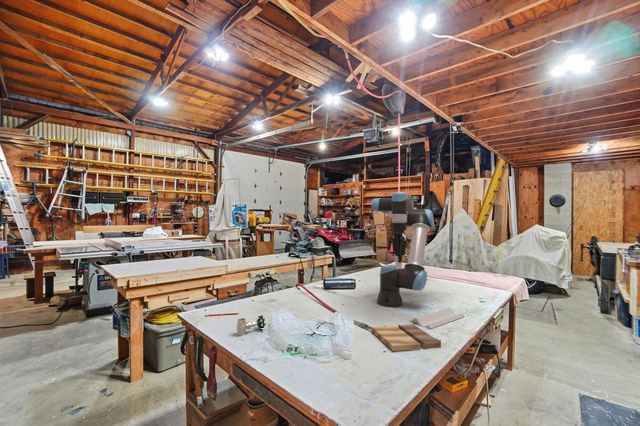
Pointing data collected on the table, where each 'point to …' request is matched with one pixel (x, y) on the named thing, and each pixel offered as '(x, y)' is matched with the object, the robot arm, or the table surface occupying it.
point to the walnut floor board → (420, 336)
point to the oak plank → (395, 338)
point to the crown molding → (437, 318)
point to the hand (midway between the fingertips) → (398, 268)
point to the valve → (248, 325)
